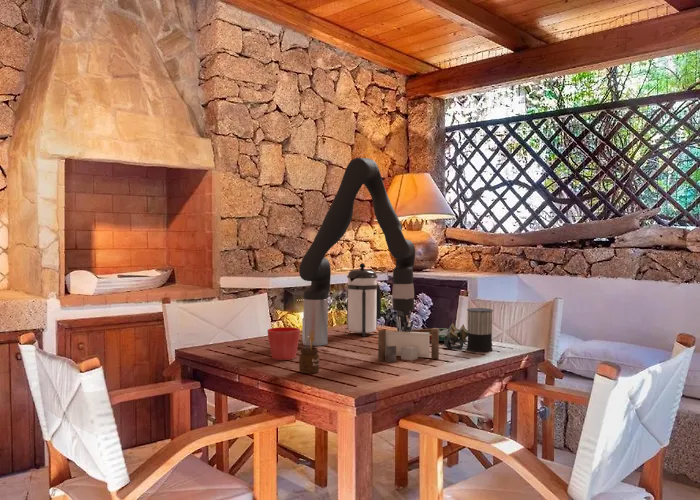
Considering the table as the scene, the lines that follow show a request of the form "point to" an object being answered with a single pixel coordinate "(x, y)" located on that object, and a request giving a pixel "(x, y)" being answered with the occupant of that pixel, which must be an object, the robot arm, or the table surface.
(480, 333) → the milk frother
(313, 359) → the jar with wooden spoon
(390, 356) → the gate posts
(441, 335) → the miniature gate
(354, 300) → the coffee press
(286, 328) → the flower pot
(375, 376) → the table surface
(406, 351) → the block
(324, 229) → the robot arm
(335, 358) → the table surface
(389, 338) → the panel
